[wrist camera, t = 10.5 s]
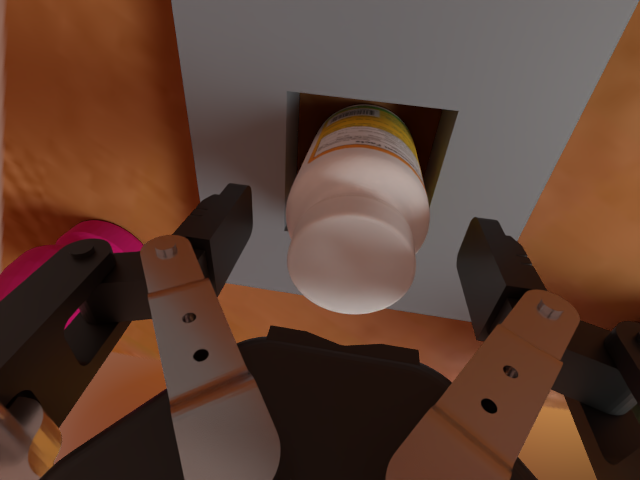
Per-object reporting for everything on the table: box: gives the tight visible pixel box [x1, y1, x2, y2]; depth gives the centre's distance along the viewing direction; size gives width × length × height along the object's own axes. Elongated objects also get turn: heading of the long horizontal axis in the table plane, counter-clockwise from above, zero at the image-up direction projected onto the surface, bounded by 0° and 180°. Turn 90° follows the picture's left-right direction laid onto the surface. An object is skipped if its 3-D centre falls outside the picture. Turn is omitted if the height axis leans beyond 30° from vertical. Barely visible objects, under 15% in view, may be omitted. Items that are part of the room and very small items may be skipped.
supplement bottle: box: [286, 104, 430, 314], centre depth 14 cm, size 5×5×10 cm
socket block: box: [171, 0, 639, 322], centre depth 17 cm, size 16×16×3 cm
